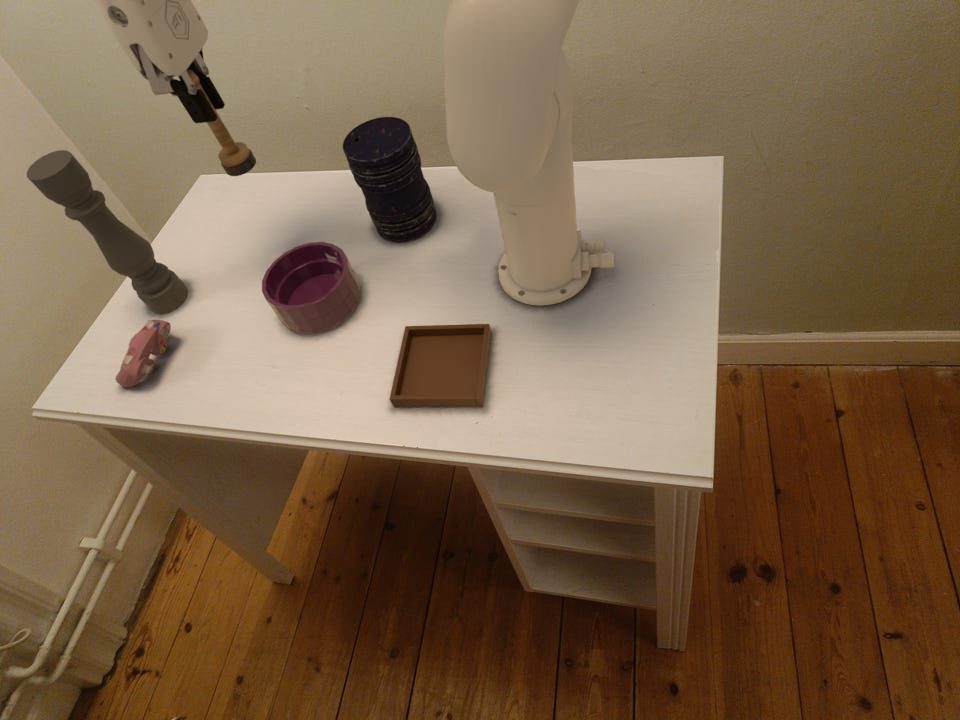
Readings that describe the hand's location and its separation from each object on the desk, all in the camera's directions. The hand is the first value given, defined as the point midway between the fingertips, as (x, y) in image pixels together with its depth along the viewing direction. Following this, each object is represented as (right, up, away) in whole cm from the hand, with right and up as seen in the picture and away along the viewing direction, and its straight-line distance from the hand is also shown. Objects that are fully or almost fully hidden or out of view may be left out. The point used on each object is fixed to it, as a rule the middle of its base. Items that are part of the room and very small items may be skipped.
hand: (209, 113), depth 78 cm
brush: (+1, -5, +6) cm, 8 cm away
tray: (+30, -32, 0) cm, 44 cm away
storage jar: (+23, -10, +18) cm, 31 cm away
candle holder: (-14, -22, +17) cm, 31 cm away
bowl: (+11, -23, +11) cm, 28 cm away
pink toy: (-12, -32, +10) cm, 35 cm away
